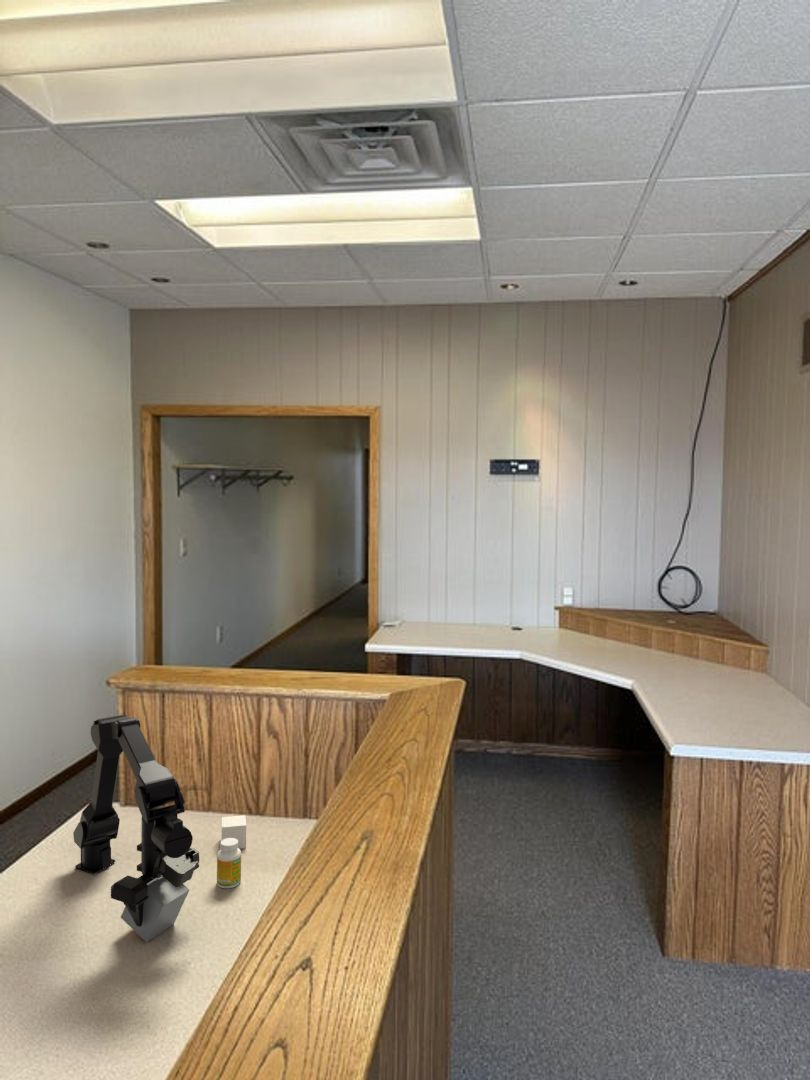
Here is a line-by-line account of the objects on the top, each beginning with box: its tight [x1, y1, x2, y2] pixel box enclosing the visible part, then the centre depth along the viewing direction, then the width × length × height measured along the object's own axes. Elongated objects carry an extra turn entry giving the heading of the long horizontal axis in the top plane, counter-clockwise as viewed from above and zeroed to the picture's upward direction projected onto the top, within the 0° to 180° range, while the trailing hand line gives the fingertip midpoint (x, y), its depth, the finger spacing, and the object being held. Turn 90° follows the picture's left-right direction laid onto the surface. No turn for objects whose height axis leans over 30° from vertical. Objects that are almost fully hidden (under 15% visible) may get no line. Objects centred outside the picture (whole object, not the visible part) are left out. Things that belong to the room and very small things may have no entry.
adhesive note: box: [220, 814, 247, 850], centre depth 184 cm, size 6×6×6 cm
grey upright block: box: [120, 876, 190, 943], centre depth 146 cm, size 8×8×9 cm
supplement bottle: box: [216, 838, 242, 889], centre depth 165 cm, size 5×5×10 cm
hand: (156, 914), depth 146 cm, fingers open, 9 cm apart
